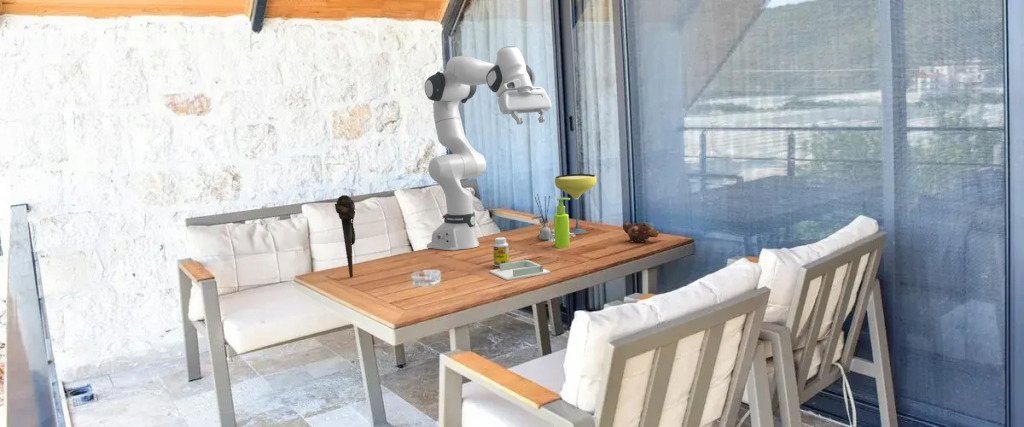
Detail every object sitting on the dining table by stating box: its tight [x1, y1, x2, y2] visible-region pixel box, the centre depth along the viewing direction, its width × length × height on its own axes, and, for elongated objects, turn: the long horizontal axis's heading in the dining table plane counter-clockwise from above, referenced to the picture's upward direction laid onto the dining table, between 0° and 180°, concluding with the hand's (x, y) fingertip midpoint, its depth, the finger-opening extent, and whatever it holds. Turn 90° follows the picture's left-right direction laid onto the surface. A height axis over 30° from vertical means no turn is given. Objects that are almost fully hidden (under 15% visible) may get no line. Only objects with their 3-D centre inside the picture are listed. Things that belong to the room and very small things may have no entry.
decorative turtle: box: [622, 221, 659, 242], centre depth 329 cm, size 10×15×8 cm, turn 64°
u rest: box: [488, 259, 552, 281], centre depth 285 cm, size 17×15×3 cm
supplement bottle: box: [492, 237, 510, 268], centre depth 298 cm, size 6×6×10 cm
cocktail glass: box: [554, 173, 597, 234], centre depth 353 cm, size 18×18×25 cm
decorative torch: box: [334, 194, 356, 278], centre depth 289 cm, size 7×7×30 cm
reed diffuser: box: [534, 193, 552, 240], centre depth 341 cm, size 10×7×20 cm
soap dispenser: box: [553, 197, 571, 249], centre depth 325 cm, size 6×7×20 cm
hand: (531, 122), depth 283 cm, fingers open, 8 cm apart
